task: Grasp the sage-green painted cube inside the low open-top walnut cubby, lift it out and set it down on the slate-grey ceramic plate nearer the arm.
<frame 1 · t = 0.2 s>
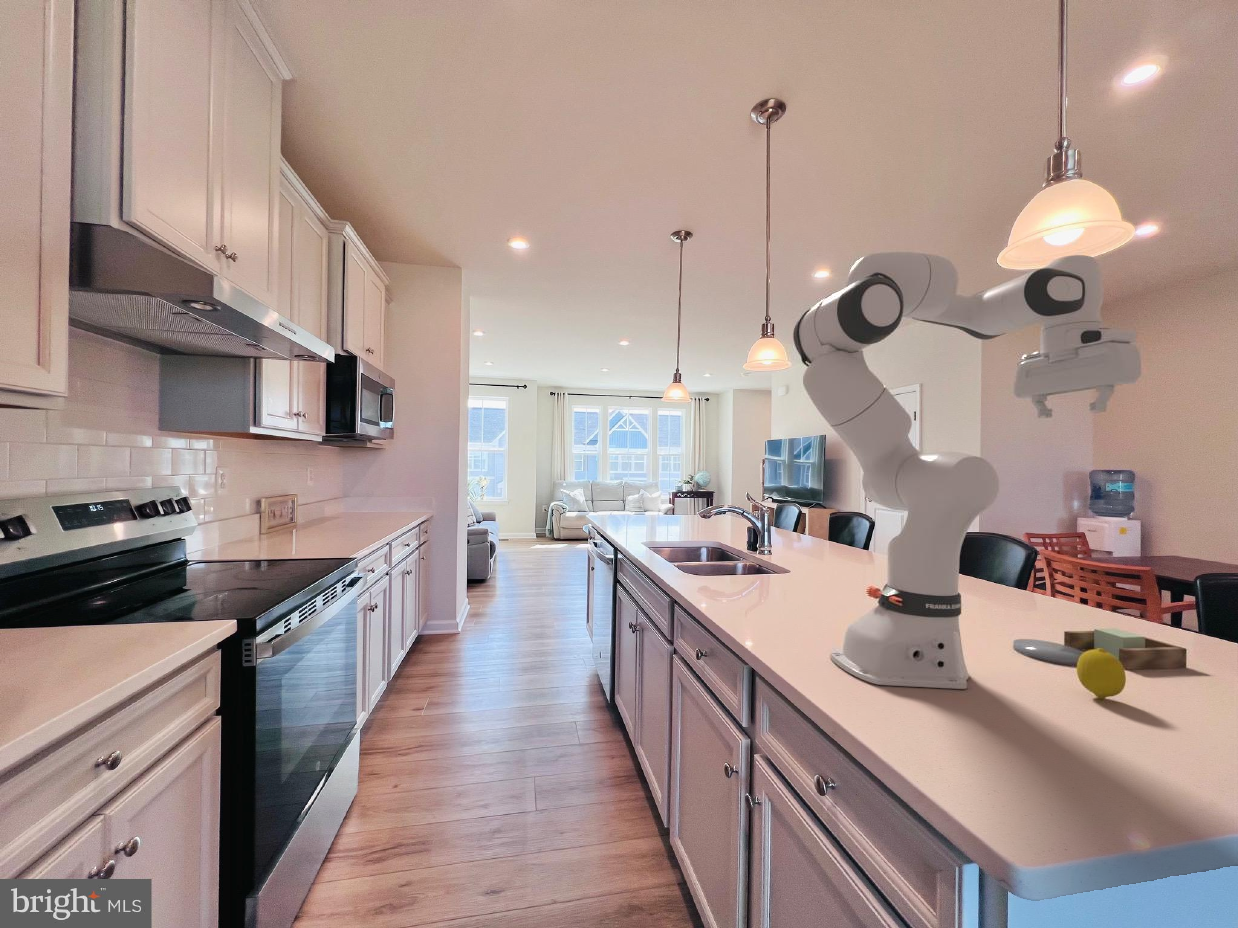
hand: (1070, 415, 93), 47 cm above the countertop, fingers open, 8 cm apart
lemon: (1100, 699, 77), on the countertop
cubby: (1119, 657, 96), on the countertop
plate: (1048, 654, 97), on the countertop
cube: (1119, 658, 96), resting in cubby
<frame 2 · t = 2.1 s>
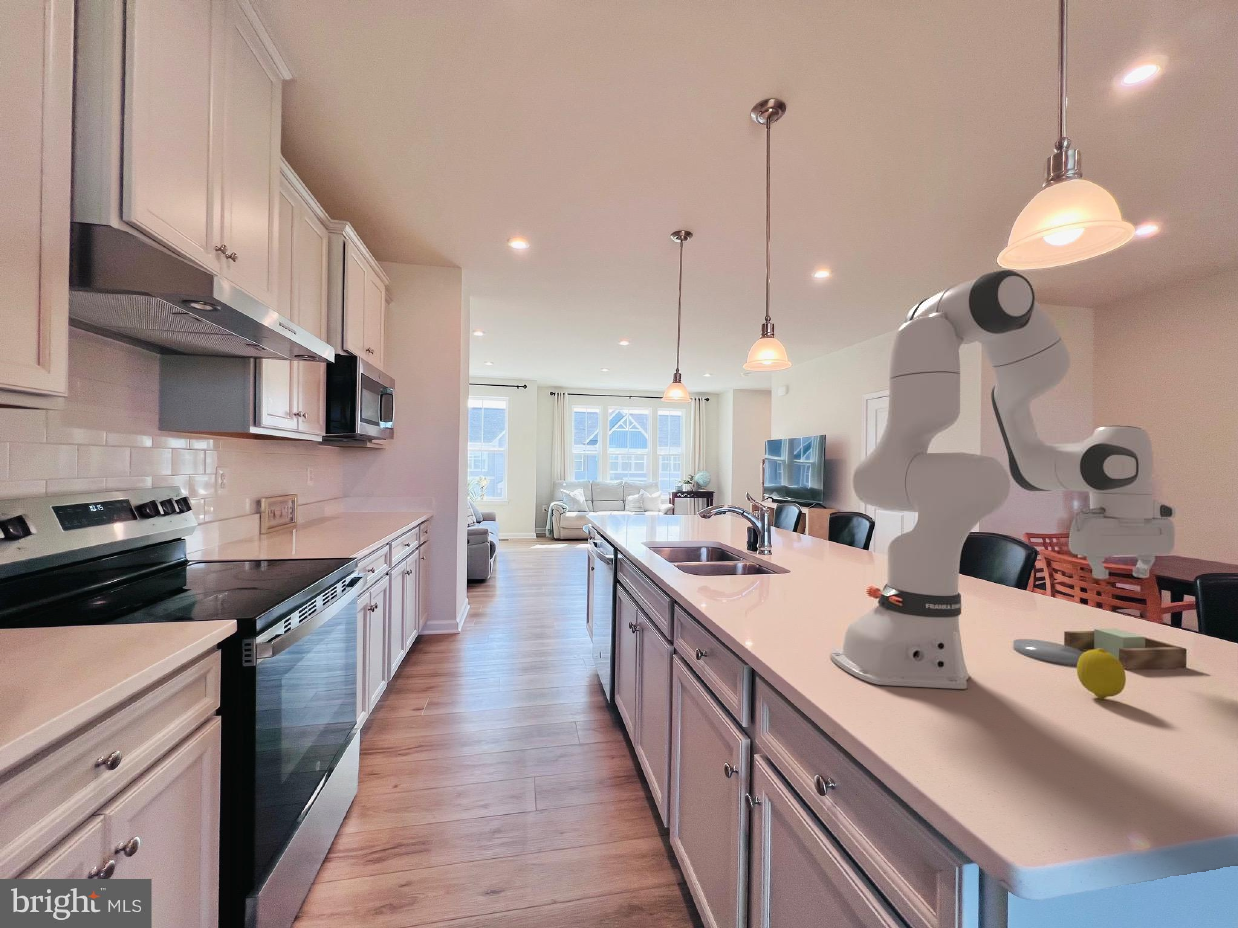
hand: (1120, 577, 96), 16 cm above the countertop, fingers open, 8 cm apart
nothing on the countertop moved.
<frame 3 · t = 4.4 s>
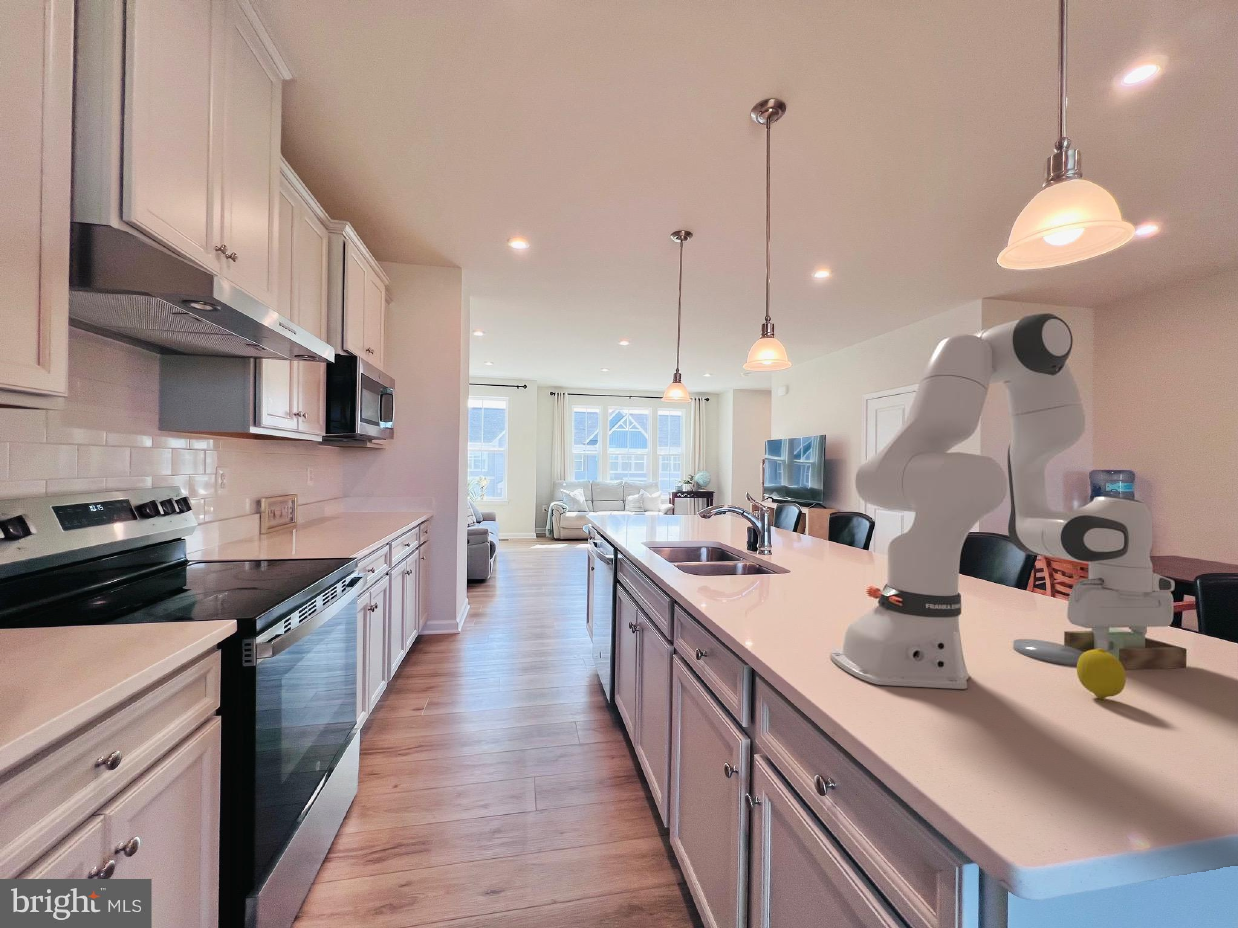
hand: (1119, 648, 96), 2 cm above the countertop, fingers closed on cube, 5 cm apart
cube: (1119, 657, 96), resting in cubby, touching gripper
everything else where it was.
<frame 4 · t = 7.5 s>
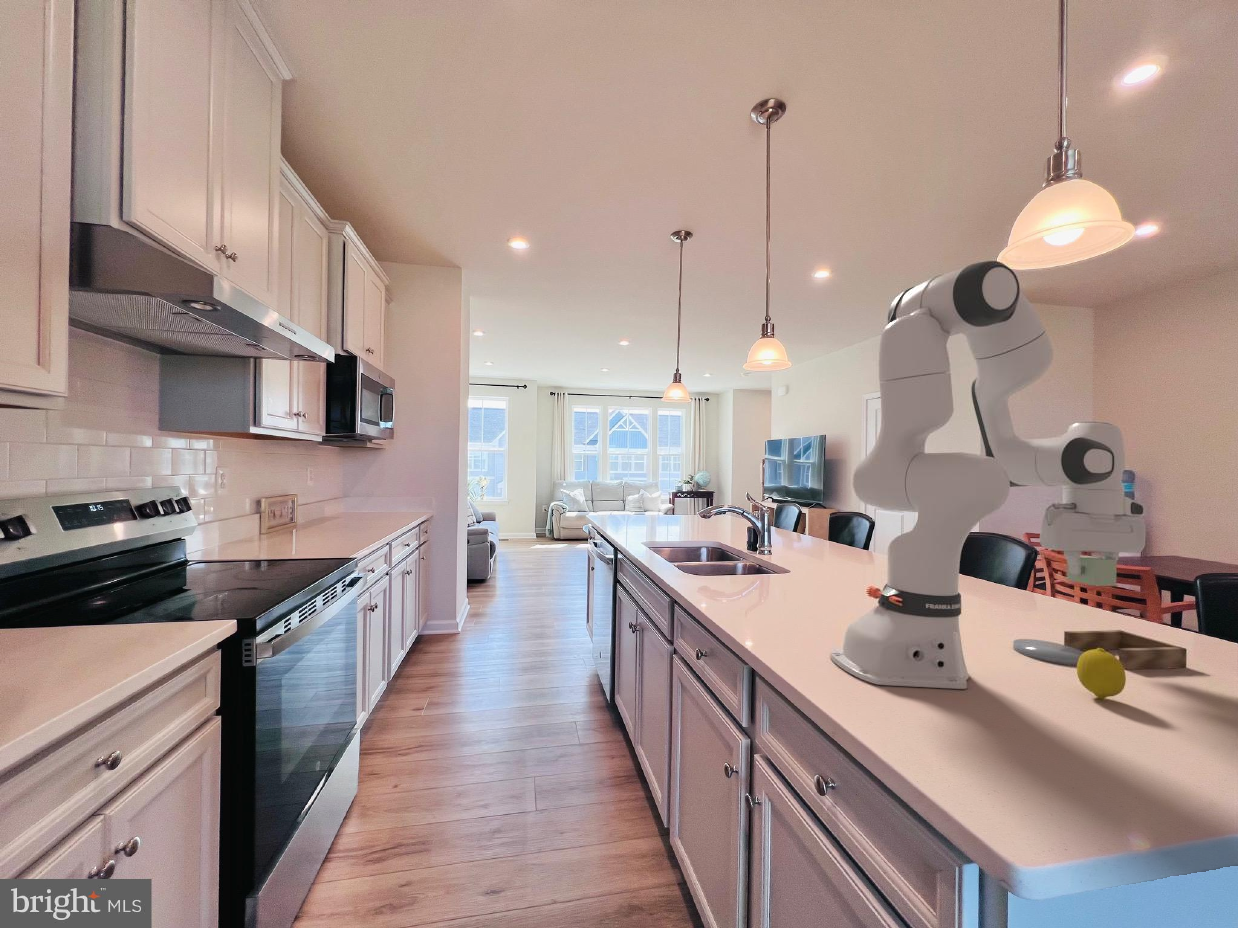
hand: (1090, 574, 96), 16 cm above the countertop, fingers closed on cube, 5 cm apart
cube: (1090, 582, 96), point 15 cm above the countertop, touching gripper
everything else where it was.
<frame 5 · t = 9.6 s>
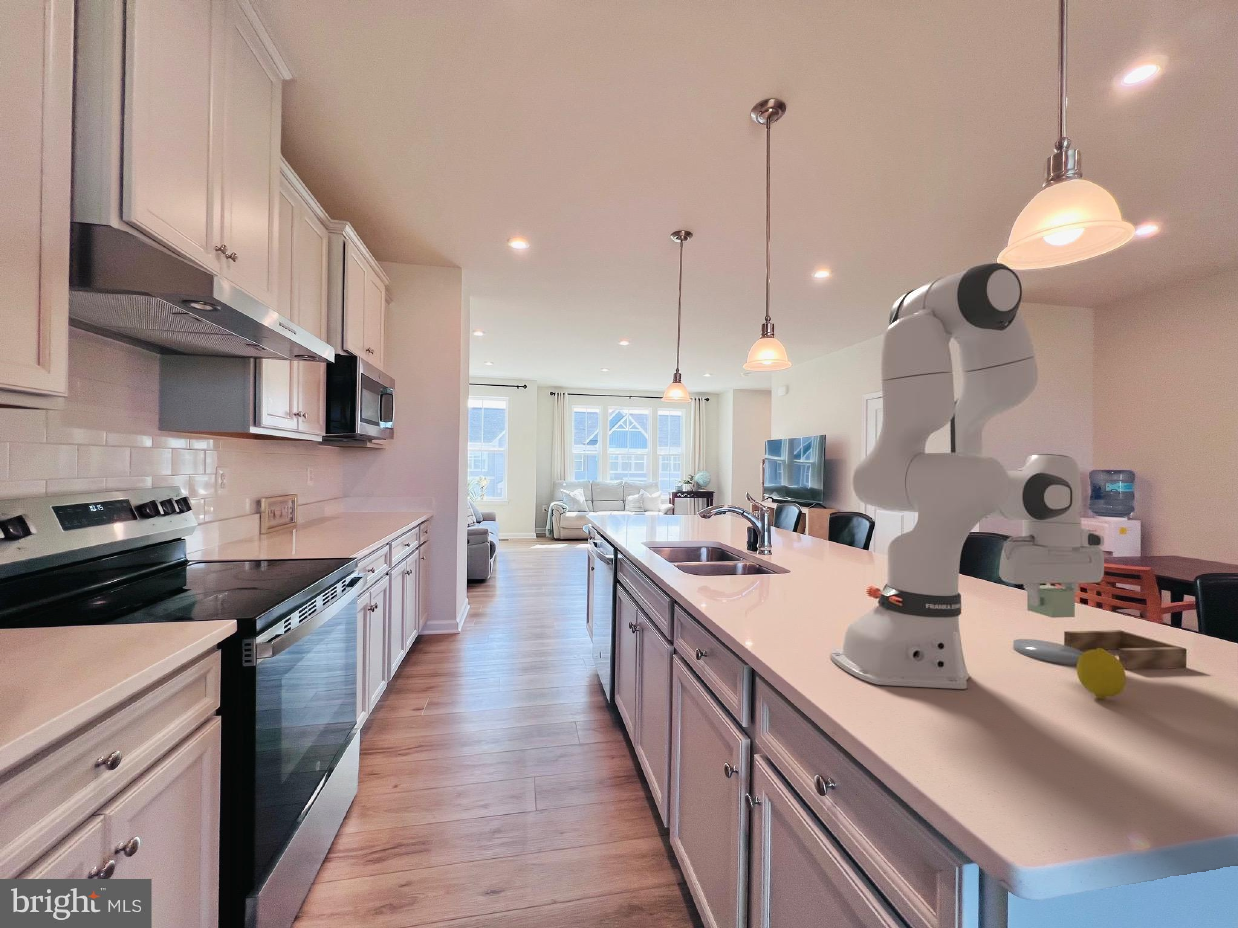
hand: (1050, 604, 97), 10 cm above the countertop, fingers closed on cube, 5 cm apart
cube: (1050, 613, 97), point 8 cm above the countertop, touching gripper
everything else where it was.
when the fingers open (4 cm above the countertop, at t = 11.0 s): cube drops 1 cm, resting on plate.
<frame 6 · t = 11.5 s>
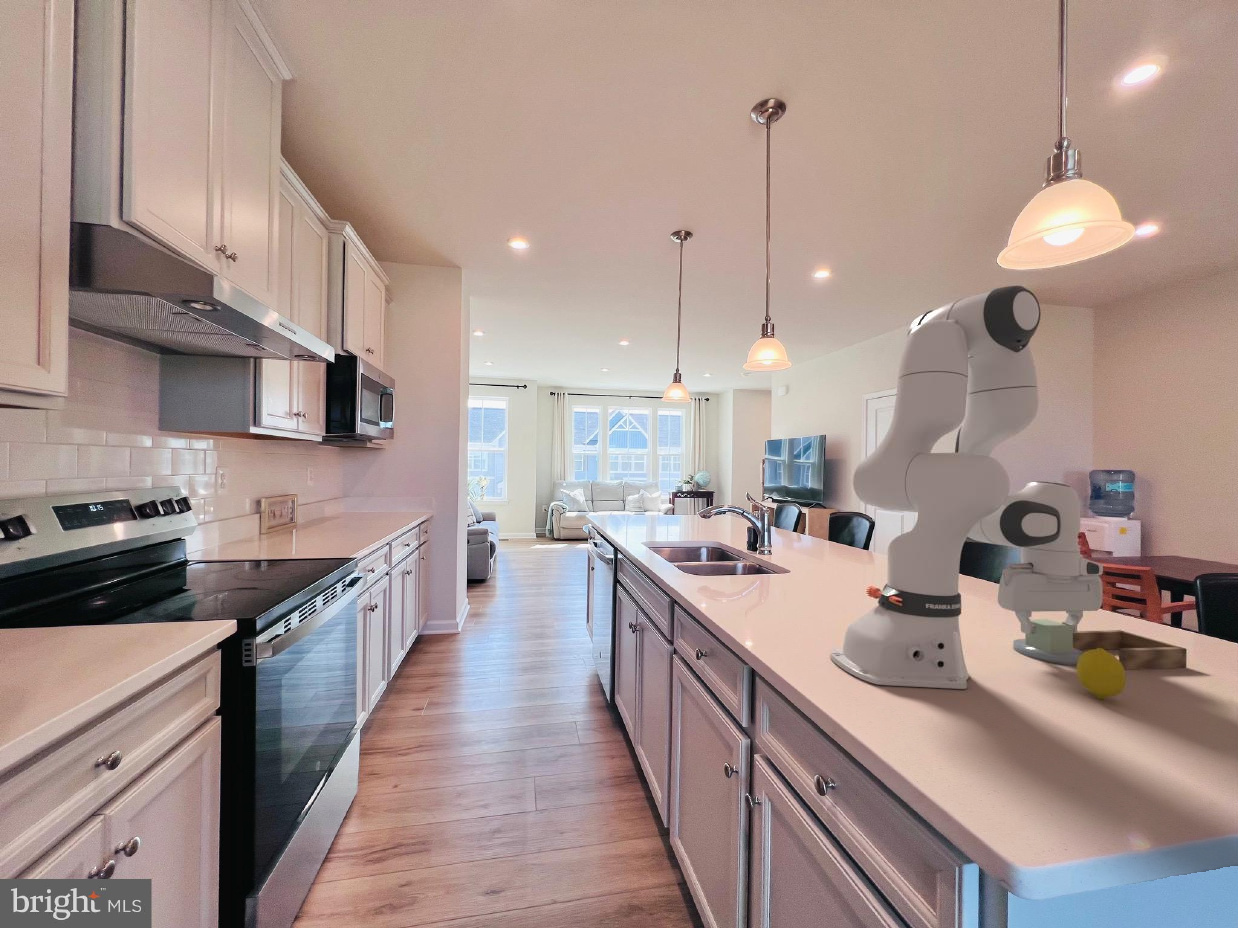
hand: (1048, 632, 97), 4 cm above the countertop, fingers open, 8 cm apart
cube: (1048, 648, 97), point 1 cm above the countertop, touching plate
everything else where it was.
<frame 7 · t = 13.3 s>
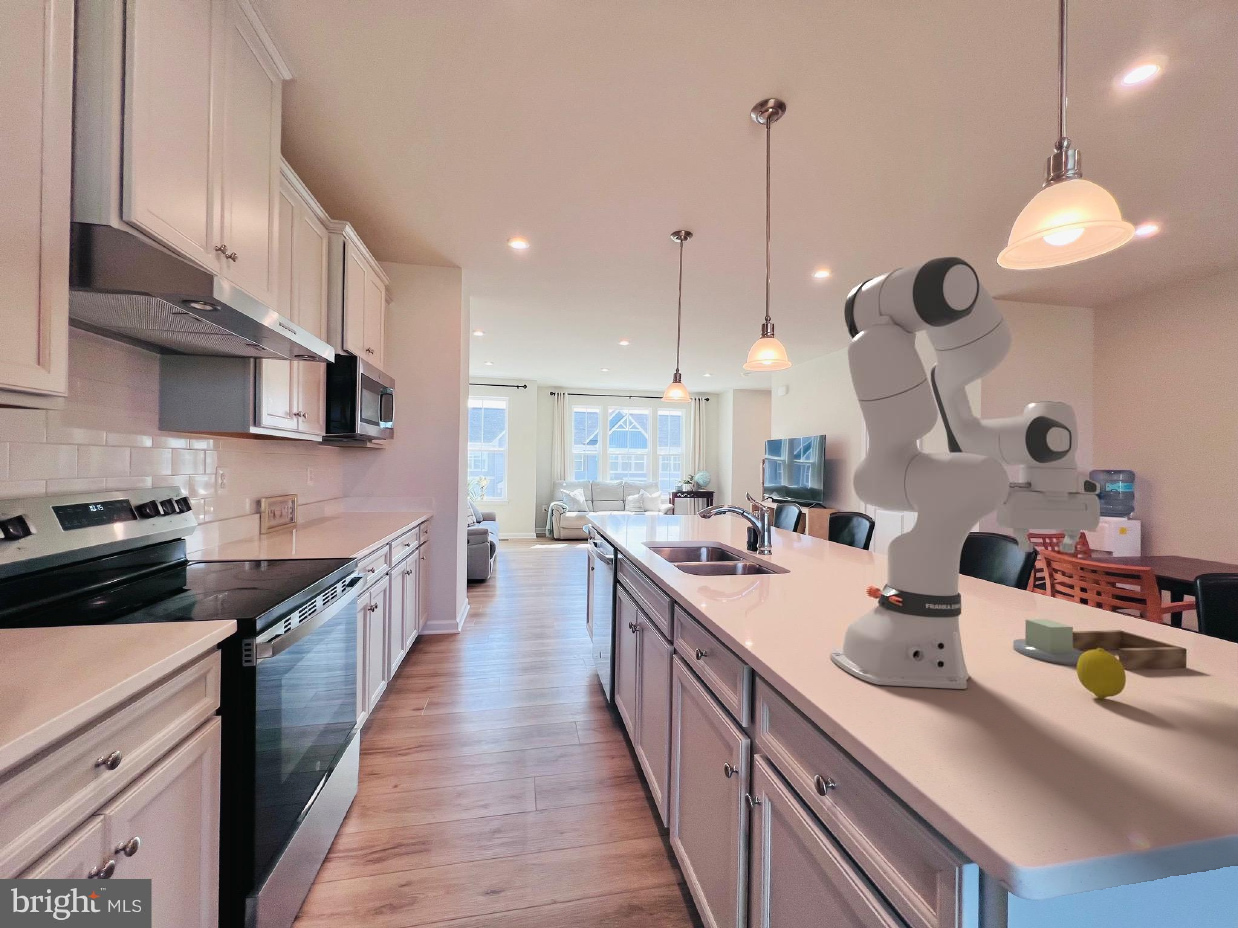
hand: (1046, 551, 98), 20 cm above the countertop, fingers open, 8 cm apart
nothing on the countertop moved.
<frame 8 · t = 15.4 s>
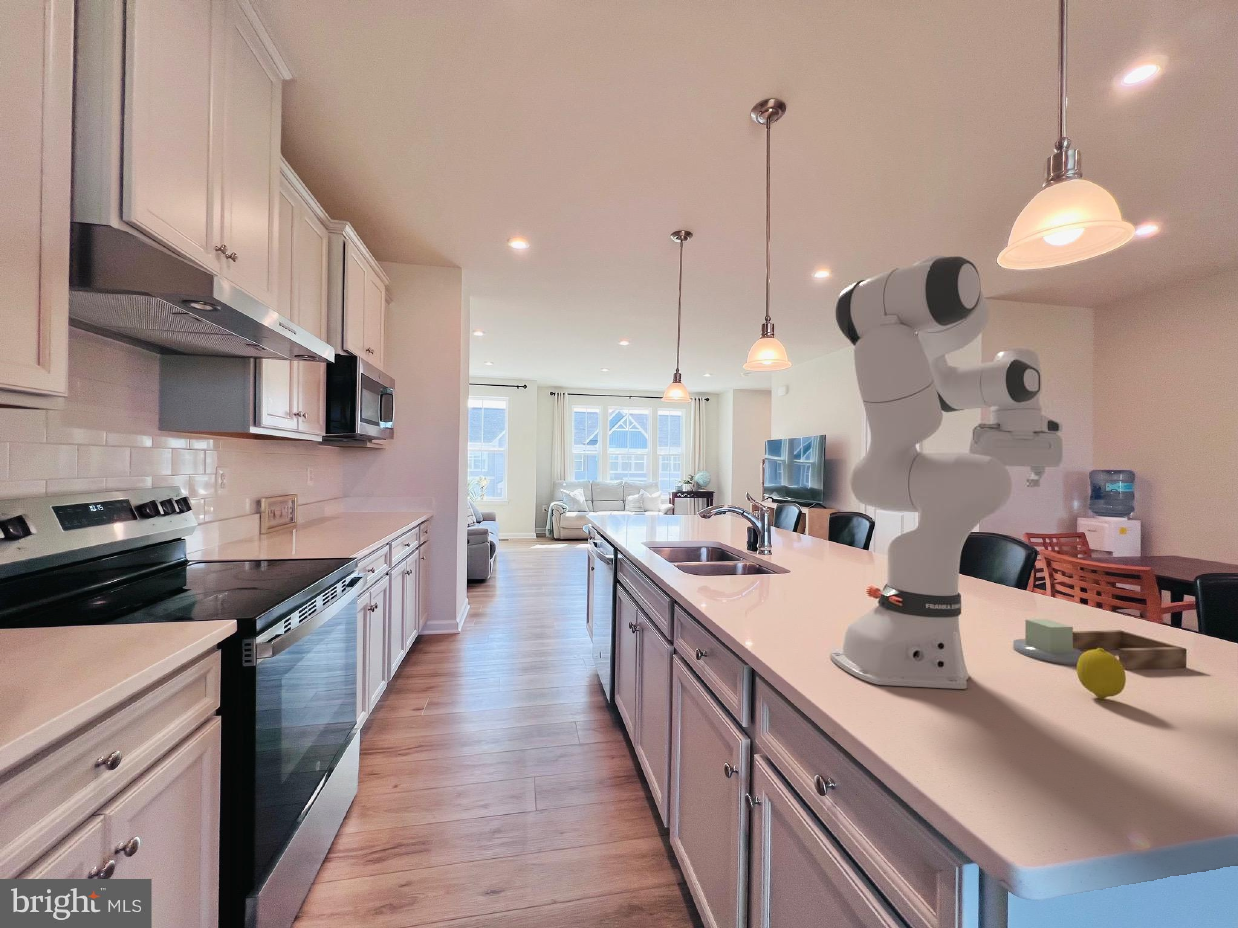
hand: (1014, 486, 107), 33 cm above the countertop, fingers open, 8 cm apart
nothing on the countertop moved.
at the end: cube inside the target area on the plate (0.1 cm from its centre), point 1.2 cm above the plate's base; cube tilted 0°; the gripper is holding nothing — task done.
